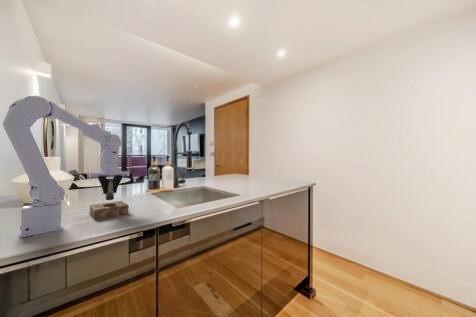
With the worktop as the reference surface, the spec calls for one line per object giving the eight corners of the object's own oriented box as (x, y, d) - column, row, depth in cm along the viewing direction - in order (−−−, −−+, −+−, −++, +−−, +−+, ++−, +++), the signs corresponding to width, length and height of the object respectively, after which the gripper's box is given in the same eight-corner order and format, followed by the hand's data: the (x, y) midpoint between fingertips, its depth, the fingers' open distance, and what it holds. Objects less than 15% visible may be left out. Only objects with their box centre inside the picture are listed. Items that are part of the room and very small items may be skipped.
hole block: (94, 220, 72) (94, 210, 72) (89, 214, 79) (89, 205, 79) (128, 214, 81) (128, 205, 81) (121, 209, 88) (121, 200, 88)
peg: (106, 200, 78) (106, 179, 78) (104, 199, 80) (105, 178, 80) (114, 199, 80) (115, 178, 80) (113, 198, 82) (113, 178, 82)
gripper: (91, 162, 72) (90, 197, 72) (132, 162, 82) (131, 192, 83) (88, 161, 77) (87, 194, 77) (127, 161, 87) (126, 190, 87)
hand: (109, 193), depth 80 cm, fingers closed on peg, 3 cm apart
